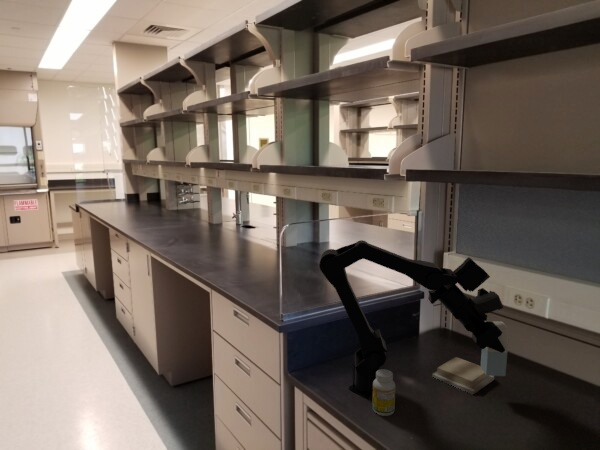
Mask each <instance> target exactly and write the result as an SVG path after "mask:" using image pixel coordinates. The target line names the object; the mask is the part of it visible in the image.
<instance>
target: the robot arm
mask: <svg viewBox="0 0 600 450" xmlns="http://www.w3.org/2000/svg"><path fill="white" fill-rule="evenodd" d="M361 260H366V261H369V262H371V263H374V264H377V265H379V266H381V267H384V268H386V269H389V270H392V271H395V272H398V273H400V274H402V275H405V276H407V277H408V278H410V279H411V280H412V281H414V282H416V284H418V285H420V286H422V287H424V288H425V289H427V290H428V298H427V299H428V301H429V303H430V304H432V305H434V304H435V303H436V302H437V301H439V302H440V303H441V304H442V305H443V306H444V307H445V308H446V309H447V310H448V312H449V313H450V314H452V316H453V317H454V319H456V320H457V321H458V322H459V323H460V324H461V325H462V326H463V328H464V329H466V331H467V332H470V333H472V334H471V335H472V336H471V339H472V340H473V341H474V342H475V344H476V345H477V346H478V347H479V348H480V349H481V350H482V349H485V348H486V347H489V348H491V349H494V350H496V351H499V352H501V353H503V352H504V351H505V348H504V347H503V345H502V344H501V342H500V340H499V339H498V337H499V336H501V335H502V331H501V330H500V329H499V328H498V327H497V326H496V325H495V324H494V323H493V322H492V321H493V320H488V315H487V314H490V313H492V312H494V311H498V310H499V311H500V310H502V309H503V308H504V305H503V303H502V300H501V298H500V296H499V294H498V293H496V292H495V291H492V290H489V291H488V290H486V289H485V288H484V287H481V288H479V287H480V286H482V285H483V284H484V283H485V282H486V281H487V280H488V279H489V278H491V276H490V275H489V273H487V271H486V270H485V269H483V268H482V267H481V266H480V265H478V264H477V263H476V262H475V261H474V260H473V259H472V258H471V257H470V256H469V257H467V258H466V259H465V260H464V261H463V262H462V263H461V264H460V265H459V266H458V267H456V268H455V269H454V270H453V269H450V268H446V267H439V265H437V264H436V263H434V262H430V261H427V260H420V259H411V258H407V257H405V256H403V255H401V254H397V253H394V252H392V251H389V250H386V249H384V248H381V247H379V246H376V245H374V244H371V243H369V242H367V241H366V240H363V239H362V240H361V239H360V240H358V241H356V242H354V243H352V244H348V245H345V246H342V247H340V248H339V247H338V248H337V249H334V248H329V249H326V250H325V251H324V252H323V253H322V254H321V255H320V260H319V264H318V266H319V269H320V271H321V273H322V274H323V276H324V277H325V279H326V281H328V283H330V285H331V286H332V287H333V288H334V289H335V292H336V294H337V295H338V297H339V300H340V301H341V304H342V306H343V308H344V310H345V312H346V314H347V316H348V318H349V320H350V322H351V324H352V326H353V327H352V328H353V329H354V331H355V333H356V335H357V337H358V338H357V339H358V342H359V347H360V348H359V349H358V350H356V351H355V352H354V364H353V367H352V384H351V385H349V386H348V389H349V391H352V392H354V393H356V394H358V395H360V396H362V397H364V398H365V399H369V398H371V397H373V381H374V380H375V379H376V371H377V370H380V369H381V367H382V366H384V364H385V363H386V361H387V353H388V348H387V345H386V340H384V338H383V337H382V335H381V331H380V329H379V328H376V330H374V329H373V328H372V327H371V326H370V323H369V321H368V319H367V318H366V315H365V313H364V311H363V309H362V306H361V305H360V302H359V300H358V298H357V296H356V294H355V292H354V290H353V287H352V285H351V283H350V282H349V278H348V275H347V271H346V268H347V267H350V266H351V265H354V264H355V263H357V262H358V261H361ZM457 284H458V285H459V286H460V287H461V288H459V287H458V286H457ZM478 288H479V289H478ZM462 289H463V290H464V291H465V292H467V291H468V292H470V293H471V292H474V291H475V290H477V295H476V296H475V298H473V299H472V298H471V297H470V296H468V295H466V293H464V292H463V291H462ZM485 321H486V322H485Z"/></svg>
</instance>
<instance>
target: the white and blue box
mask: <svg viewBox="0 0 600 450" xmlns="http://www.w3.org/2000/svg"><path fill="white" fill-rule="evenodd" d="M491 321H492V322H493V323H494V324H495V325H496V326H497V327H498V328H499V329H500V330H501V331H502V335H501V336H499V337H498V339H499V340H500V342H501V344H502V345H503V347H504V348H505V351H504V352H503V353H501V352H499V351H496V350H494V349H491V348H489V347H486V348H485V349H481V354H480V355H481V356H480V366H481V368H482V370H483V371H484V373H485V374H486V375H490V376H494V377H506V373H507V361H508V349H509V335H510V334H509V333H510V327H508V325H506V324H505V323H504V321H497V320H496V321H495V320H491ZM485 322H486V321H485Z"/></svg>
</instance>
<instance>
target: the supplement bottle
mask: <svg viewBox="0 0 600 450" xmlns="http://www.w3.org/2000/svg"><path fill="white" fill-rule="evenodd" d="M393 379H394V373H393V372H392V371H391V370H388V369H383V368H379V370H377V371H376V379H375V380H374V381H373V395H372V399H371V400H372V401H371V402H372V403H371V404H372V406H371V407H372V411H373V412H374V413H375V414H376V413H377V415H378V416H383V417H388V416H391V415H393V414H394V412H395V406H396V405H395V404H396V383H395V381H394V380H393Z"/></svg>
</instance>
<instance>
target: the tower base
mask: <svg viewBox="0 0 600 450" xmlns="http://www.w3.org/2000/svg"><path fill="white" fill-rule="evenodd" d="M432 377H434V378H436V379H435V380H437V379H439V380H440V381H439V380H438V381H439V382H441V381H443V382H442V383H444V382H445V383H444V384H446V383H447V384H446V385H448V384H449V386H451V385H452V386H451V387H453V386H454V387H453V388H455V387H456V389H458V388H459V389H458V390H460V389H461V390H460V391H463V392H465V391H466V392H465V393H467V392H468V393H467V394H470V395H472V396H473V394H474V395H475V394H476V393H478V392H479V391H480V390H481V389H482V390H483V388H484V387H486V386H487V385H489V384H491V383H492V382H493V381H494V380H495V376H490V375H486V374H485V373H484V371H483V370H482V368H481V365H479V364H476V363H473V362H471V361H468V360H465V359H463V358H460V357H457V356H455V357H454V358H451V359H449V360H448V361H447V362H444V363H443V364H441V365H440V366H438V367H437V369H436V371H435V372H433V373H432V374H431V378H432ZM434 378H433V379H434Z"/></svg>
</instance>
